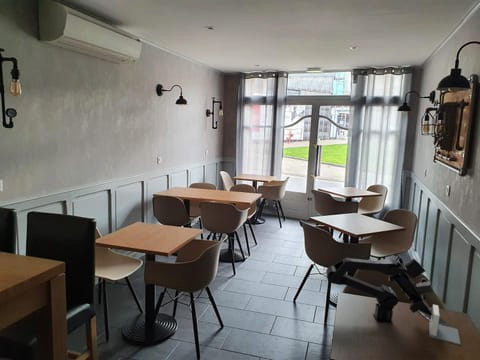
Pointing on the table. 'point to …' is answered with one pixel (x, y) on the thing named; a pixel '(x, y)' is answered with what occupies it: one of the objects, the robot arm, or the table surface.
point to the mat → (446, 334)
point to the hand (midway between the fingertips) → (431, 314)
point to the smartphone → (428, 317)
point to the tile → (434, 320)
